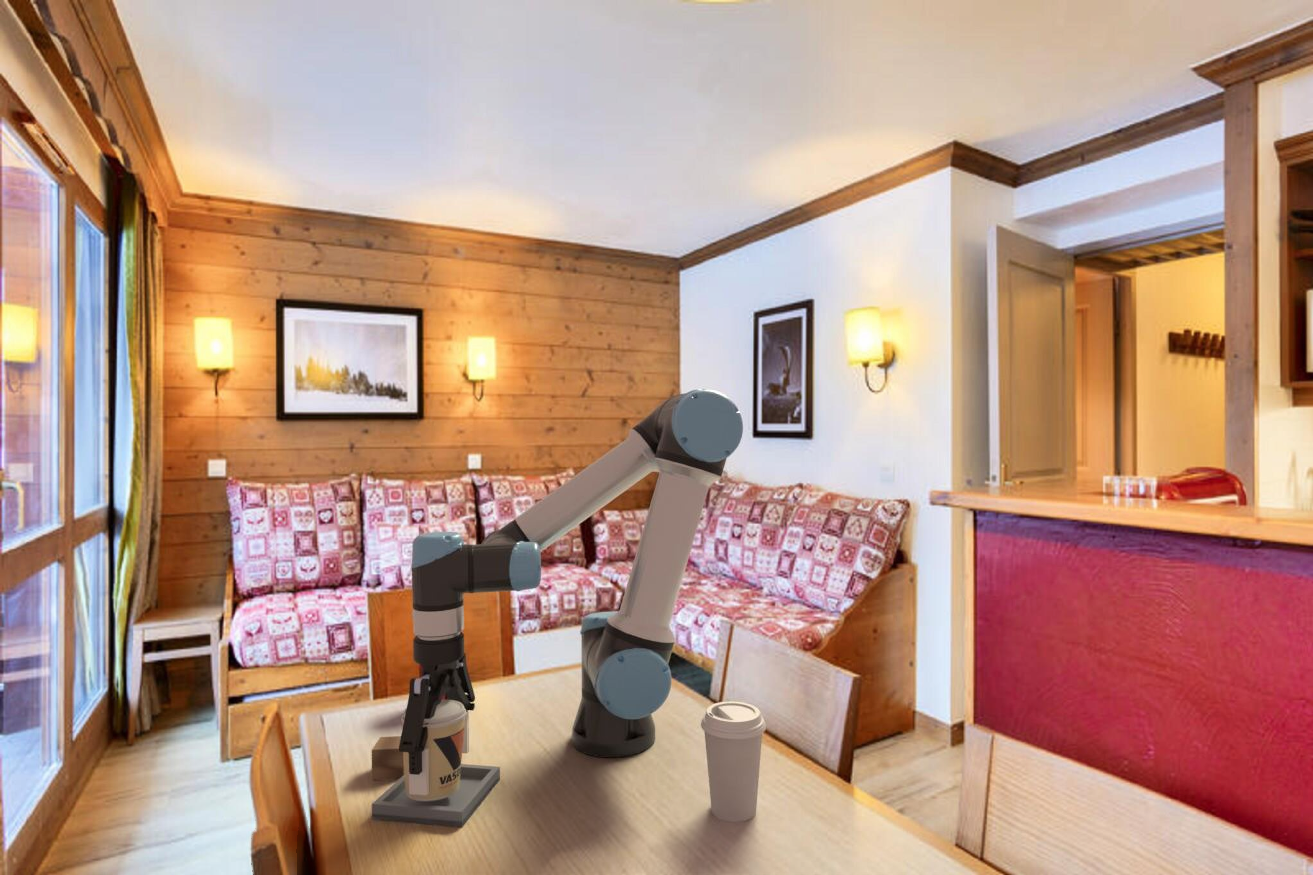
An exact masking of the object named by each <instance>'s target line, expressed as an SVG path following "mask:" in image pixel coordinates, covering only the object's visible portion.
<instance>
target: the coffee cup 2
mask: <svg viewBox="0 0 1313 875" xmlns="http://www.w3.org/2000/svg"><path fill="white" fill-rule="evenodd" d="M765 721H766V720H764V717H763V716H762V713H761V711H760V710H759V708H758V707H756V706H755V705H753V704H750V703H747V702H742V701H741V702H740V701H731V700H729V701H720V702H715V703H713V704H711V705H709V706H708V707H707V708H706V710H705V713H704V714H703V716H702V718H701V722H700V728H701V729H702V730H703V732H704V740H705V742H704V743H705V750H706V762H707V774H708V775H707V776H708V783H709V784H708V785H709V797H710V807H711V808H710V809H711V813H712V815H713V816H715V817H716V818H717V819H719V820H721V821H725V822H730V823H741V822H746V821H749V820H751V819H752V818H754V817H755V816H756V813H757V807H758V806H757V804H758V792H759V779H760V768H761V765H760V763H761V753H762V742H763V733H765V731H766V728H767V725H766V722H765Z"/></svg>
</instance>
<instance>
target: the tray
mask: <svg viewBox="0 0 1313 875" xmlns="http://www.w3.org/2000/svg"><path fill="white" fill-rule="evenodd" d="M500 781H501V767H500V766H491V765H481V764H480V765H479V764H467V763H465V764H464V763H461V772H460V782H459V788H458V790H457V791H456V792H455V793H454V794H452V795H450V796H448V797H446V798H443V799H439V800H434V801H417V800H413V799H410V798H409V797H408V796H407V795H406V788H405V774H404V775H403V776H402V777H401V778H400V779H397V781H395V782H394V783H393V784H392V785H391V786H390V787H389V788H388V789H387V790H385V791H384V793H382V794H380V795H379V796H378V797H377V799H375V801H373V802H372V804H371V819H372V820H379V821H387V822H388V821H392V822H401V823H412V824H421V825H422V824H423V825H432V826H443V827H444V826H445V827H454V828H463V827H464V825H466V824H467V822H468V820H470V818H471V817H472V816H473V814H474V813H475V812H476V810H478V808H479V807H480V806H481V804H482V803H483V802H484V801H485V799H486V798H487V797H488V795H490V793H491V792H492V791H493V789H494V788H495V787H496V785H498V783H499V782H500Z"/></svg>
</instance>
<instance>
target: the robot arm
mask: <svg viewBox="0 0 1313 875" xmlns="http://www.w3.org/2000/svg"><path fill="white" fill-rule="evenodd" d="M743 432H744V424H743V418H742V414H741V412H740V410H739V409H738V407H737V405H736V404H735V402H734V401H733V400H732V399H731V398H729V397H728V395H725V394H724V393H721V392H720V391H716V390H713V389H705V388H698V389H693V390H690V391H688V392H685V393H679V394H675V395H673V396H672V397H671V396H670V397H669V398H667V399H666V400H665V401H663V402H662V403H661V404H660V405H659V406H658V407H657V408H655V409H654V410H653V411H652V412H651V413H650V414H649V415H647V416H646V417H645V418H643V419H642V420H641V421H640V422H639V423H637V424H636V425H635V426H633V427H632V428H631V429H629V431H628V436H627V438H626V439H625V440H623V441H621V442H620V443H619V444H618V445H616V446H615V447H613V448H612V449H610V450H609V451H607V453H604V455H602V456H601V457H600V458H598V459H597V460H595V461H594V462H592V463H591V464H590V465H588V466H587V467H585V468H584V469H582V470H581V471H580V472H578V473H577V474H575V475H574V476H573V477H571V478H570V479H569V480H567V481H566V482H564V483H563V484H561V485H560V486H559V487H557V488H556V489H555V490H553V491H552V492H550V493H549V494H547V495H546V496H545V497H544V498H543V497H542V499H541V500H539V501H538V502H536V503H535V504H533V505H532V506H531V507H529V508H528V509H526V510H525V511H523V512H522V513H521V514H520V515H518V516H517V517H515V518H514V519H513V520H512V521H511V520H510V522H508V523H507V524H505V525H504V526H502V527H501V528H500V529H497V530H493V531H492V532H490V533H489V534H488V535H486V536H485V537H484V539H483V541H482V542H481V544H480V543H477V544H468V543H465V542H464V540H463V536H462V534H461V533H460V532H457V531H434V532H433V531H432V532H427V533H426V532H425V533H421V534H419V535H417V536H416V537H415V538H414V539H413V540H412V549H411V551H412V553H411V566H410V567H411V584H412V585H411V589H412V590H411V592H412V593H411V594H412V612H411V617H412V622H413V624H412V625H413V626H412V628H413V629H412V630H413V631H412V632H413V634H414V638H413V640H412V641H413V642H412V645H413V647H412V650H413V651H412V653H413V654H412V656H413V661H414V662H415V663H416V664H418V665H419V664H420V665H421V666H422V674H421V678H419V677H417V678H416V677H412V678H410V680H409V689H408V690H409V691H408V692H409V694H408V700H407V704H406V708H407V709H406V708H405V709H406V714H405V719H404V724H403V723H402V724H403V726H402V729H401V734H400V736H401V739H400V744H399V751H400V752H408V753H409V794H416V795H427V794H428V793H429V751H428V748H425V745H426V742H427V738H428V728H427V727H423V725H427V724H428V723H426V724H423V723H424V719H431V718H432V717H433V716H434V714H435V711H436V707H437V705H439V704H440V703H441V701H442V697H443V696H444V695H445V694H446V696H447V698H448V699H449V700H454V701H458V702H460V703H462V704H463V705H464V708H465V709H466V716H465V723H464V737H463V749H462V754H468V753H469V752H470V728H469V726H470V723H469V720H470V719H469V717H470V716H469V714H470V712H469V711H474V710H475V708H476V704H475V703H474V702H475V700H476V695H475V691H474V688H473V684H472V680H471V677H470V674H469V673H470V672H469V669H468V666H467V654H466V652H465V634H464V633H463V630H465V610H464V609H465V606H464V605H465V604H464V595H465V594H474V593H475V594H477V593H478V594H479V593H494V592H495V593H496V592H499V593H500V592H521V591H525V590H533V589H537V588H538V587H539V586H540V584H541V581H542V557H541V556H542V555H541V553H542V552H543V551H544V550H546V549H547V548H549V546H551V545H552V544H554V543H555V542H556V541H558V540H560V538H562V537H563V536H565V535H566V534H568V533H569V532H571V531H572V530H574V529H575V528H576V527H577V526H579V525H580V524H581V523H583V522H584V521H586V520H587V519H588V518H591V516H593V515H594V514H595V513H597V512H598V511H599V510H601V509H602V508H603V507H605V506H607V505H608V504H609V503H611V502H612V501H614V499H616V498H617V497H619V496H620V495H621V494H623V493H624V492H626V491H627V490H628V489H630V488H631V487H632V486H634V485H635V484H636V483H638V482H639V481H640V480H642V479H643V478H645V477H647V476H648V475H649V474H651V473H652V472H655V473H659V474H658V477H657V481H656V483H655V488H654V491H653V494H652V498H651V501H650V503H649V505H650V506H649V509H648V510H647V511H648V512H647V515H646V518H645V521H644V522H645V523H644V526H643V529H642V531H641V532H642V533H641V536H640V538H639V542H638V546H637V549H636V552H635V557H634V559H633V562H632V566H631V570H630V574H629V577H628V580H627V584H626V587H625V591H624V594H623V597H622V601H621V604H620V609H619V610H617V611H616V610H615V611H613V610H612V611H601V612H600V611H599V612H595V613H594V612H593V613H589V614H587V615H585V616H584V617H583V618H582V619H581V620H582V621H581V630H580V631H579V632H580V635H581V699H580V701H579V702H580V703H579V705H578V709H577V712H576V716H575V719H574V722H573V724H572V725H573V726H572V730H571V741H572V745H573V746H574V748H575V749H576V750H578V751H579V752H582V753H583V754H587V755H589V756H594V757H602V758H620V757H629V756H632V755H637V754H640V753H642V752H644V751H646V750H649V748H651V747H652V746H653V745H654V743H655V742H656V725H655V724H656V723H655V722H654V721H655V720H654V718H653V715H652V714H653V713H655V712H656V711H658V710H659V709H660V708H661V707H662V706H663V705H664V704H665V702H666V701H667V699H668V697H669V694H670V692H671V688H672V672H671V669H670V666H669V662H670V659H671V655H672V653H673V648H674V644H675V641H676V637H675V635H674V633H673V631H672V629H671V626H670V624H671V621H672V618H673V614H674V611H675V608H676V603H677V600H678V597H679V593H680V589H681V586H682V583H683V579H684V575H685V572H686V569H687V565H688V562H689V558H690V554H691V551H692V548H693V545H694V541H695V537H696V533H697V529H698V527H699V524H700V520H701V516H702V513H703V510H704V506H705V502H706V499H707V495H708V491H709V488H710V486H712V485H713V484H714V483H716V482H718V481H720V480H721V479H722V476H723V472H724V468H725V465H726V463H727V459H728V458H729V457H730V456H731V455H732V454H733V453H734V452H735V451H736V450H737V448H738V447H739V445H740V444H741V441H742V439H743V438H742V437H743V434H744V433H743Z"/></svg>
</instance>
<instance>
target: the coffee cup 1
mask: <svg viewBox="0 0 1313 875" xmlns="http://www.w3.org/2000/svg"><path fill="white" fill-rule="evenodd" d="M406 709H407V707H406V708H405V709H404V711H403V713H402V714H401V718H400V719H401V723H402V725H401V726H402V727H403V724H404V719H405V714H406ZM465 716H466V709H465V708H464V705H463V704H462V703H460V702H458V701H454V700H447V699H442V701H441V703H440V704H439V705H437V707H436V711H435V714H434V716H433V717H432V718H431V719H424V723H423V724H426V723H428V724H427V725H423V727H427V728H428V738H427V742H426V745H425V748H428V751H429V793H428V794H427V795H416V794H409V753H408V752H404V772H405V788H406V795H407V796H408V797H409V798H410V799H413V800H417V801H434V800H439V799H443V798H446V797H448V796H450V795H452V794H454V793H455V792H456V791H457V790H458V788H459V782H460V772H461V764H462V759H463V753H462V749H463V737H464V723H465Z"/></svg>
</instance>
